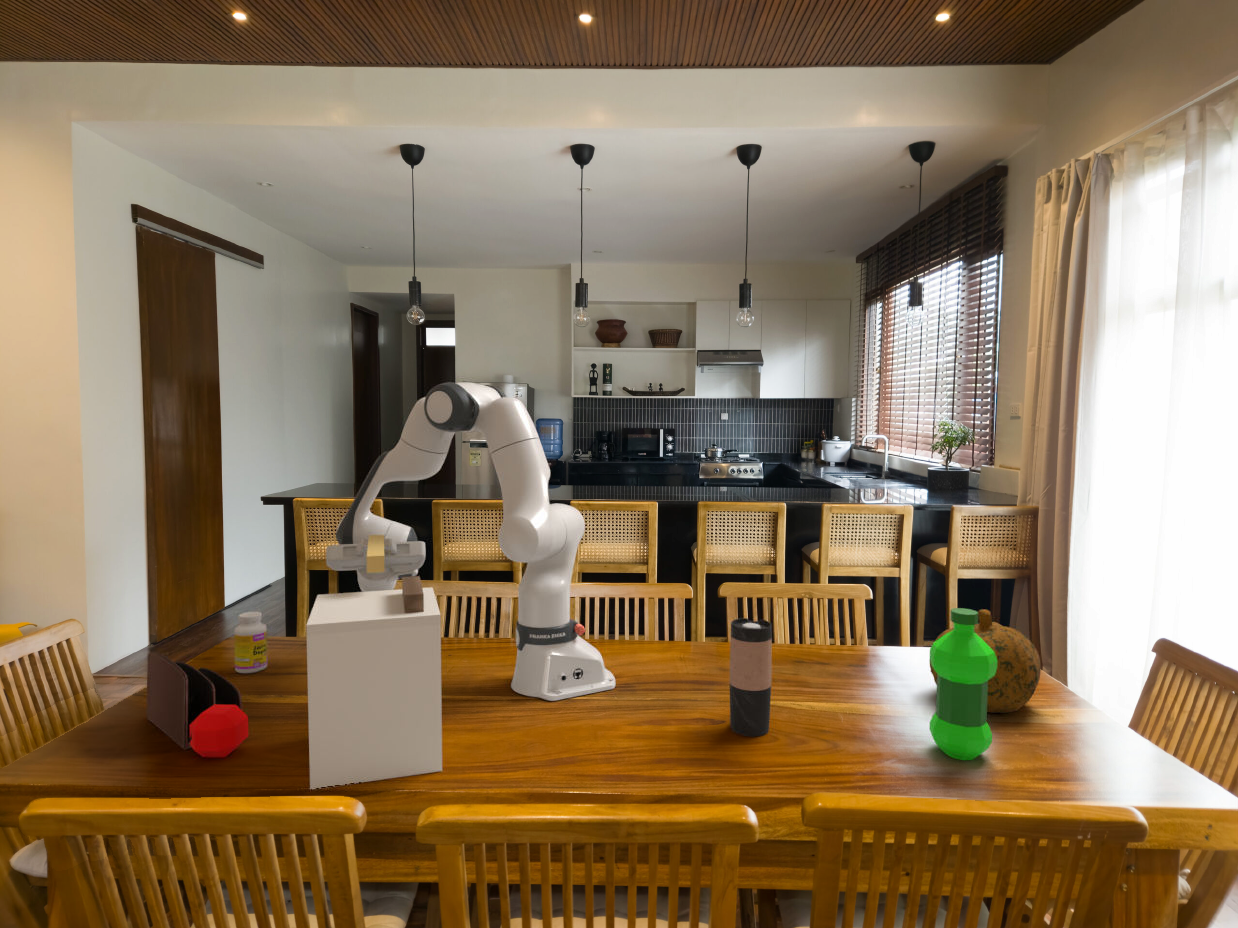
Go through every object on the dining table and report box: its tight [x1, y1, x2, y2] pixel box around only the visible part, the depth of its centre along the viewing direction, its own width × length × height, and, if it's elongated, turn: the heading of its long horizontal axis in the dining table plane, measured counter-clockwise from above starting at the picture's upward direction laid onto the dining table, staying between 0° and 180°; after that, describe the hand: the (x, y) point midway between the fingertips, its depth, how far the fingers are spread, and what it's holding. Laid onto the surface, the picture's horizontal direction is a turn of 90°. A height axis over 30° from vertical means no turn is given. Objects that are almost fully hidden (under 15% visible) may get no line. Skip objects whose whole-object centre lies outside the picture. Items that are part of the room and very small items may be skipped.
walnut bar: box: [401, 575, 424, 613], centre depth 125 cm, size 3×14×3 cm, turn 18°
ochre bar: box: [367, 535, 385, 573], centre depth 141 cm, size 3×24×3 cm, turn 18°
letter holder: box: [146, 651, 243, 751], centre depth 135 cm, size 10×20×14 cm, turn 49°
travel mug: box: [729, 617, 773, 737], centre depth 135 cm, size 8×8×20 cm
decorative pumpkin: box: [929, 608, 1041, 714], centre depth 148 cm, size 20×21×20 cm
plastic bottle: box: [929, 607, 997, 761], centre depth 125 cm, size 10×10×25 cm
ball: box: [189, 704, 250, 758], centre depth 125 cm, size 8×8×8 cm
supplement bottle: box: [233, 611, 268, 674], centre depth 166 cm, size 7×7×13 cm
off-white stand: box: [305, 586, 443, 791], centre depth 124 cm, size 20×20×26 cm
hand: (376, 542), depth 149 cm, fingers closed on ochre bar, 3 cm apart
